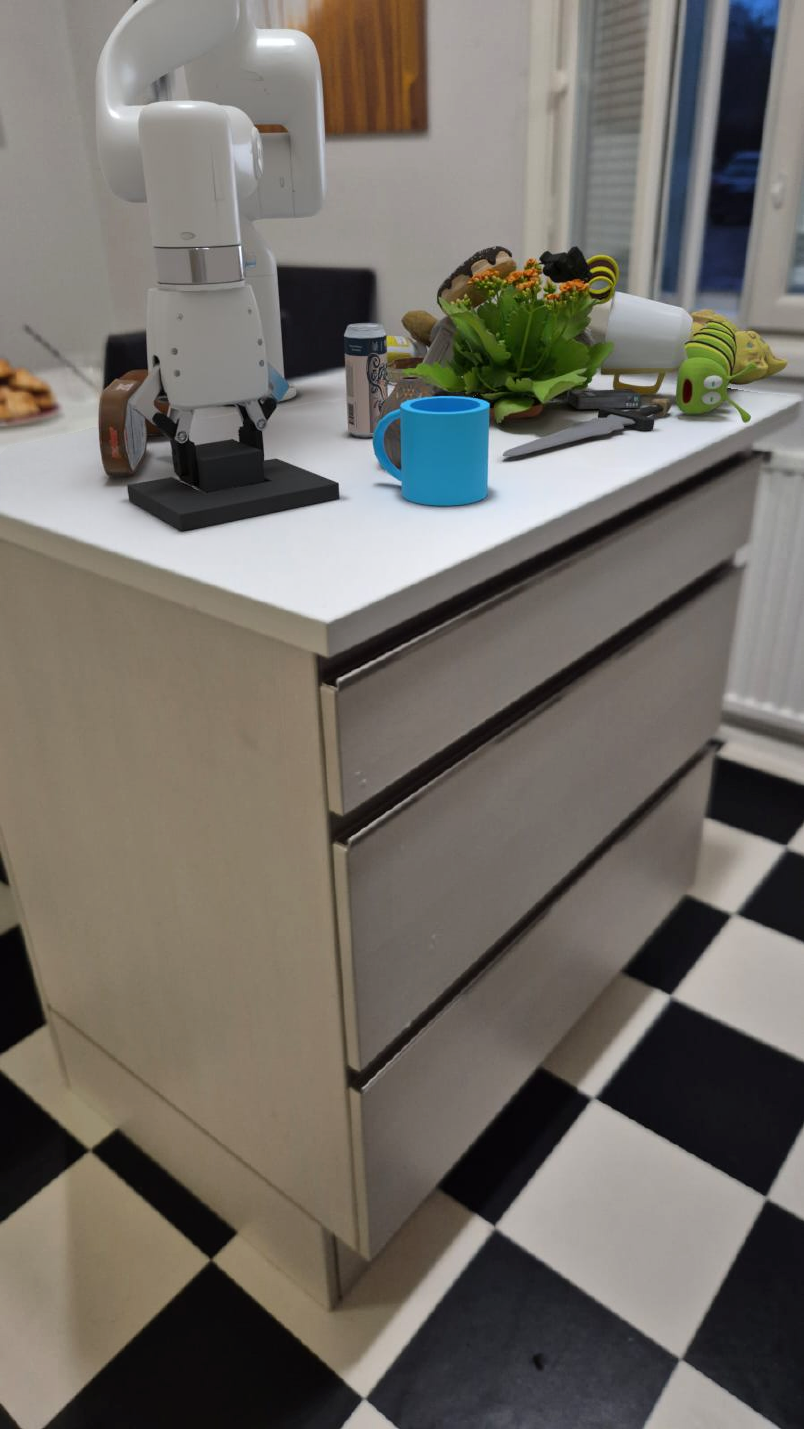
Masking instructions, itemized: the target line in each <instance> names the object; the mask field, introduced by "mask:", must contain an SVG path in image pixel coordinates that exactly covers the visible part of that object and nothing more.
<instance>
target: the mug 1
mask: <svg viewBox="0 0 804 1429" xmlns="http://www.w3.org/2000/svg"><path fill="white" fill-rule="evenodd" d="M489 407H490V403H488V402H486V401H484V400H481V399H477V398H470V397H469V396H458V395H457V396H455V395H439V396H433V397H424V398H417V399H412V400H408V401H405V402H403V403H401V406H400V409H398V410H395V411H393V412H390V413H388V414H387V415H386V416H385V417H384V418H382V419H381V420H380V421H379V423H378V425H377V427H376V429H375V430H374V435H373V437H372V448H373V453H374V456H375V458H376V459H377V461H378V464H379V465H380V466H381V467H382V468H383V470H384V471H385V472H387V474H388V475H390V476H391V477H393V478H394V479H396V480H397V481H399V482H401V496H402V497H403V498H404V499H405V500H406V501H409V502H412V503H416V504H418V505H419V504H420V505H425V506H436V507H437V506H438V507H439V506H440V507H443V506H444V507H445V506H447V507H451V506H461V505H468V504H473V503H476V502H479V501H481V500H484V499H485V498H486V497H488V488H489V487H488V486H489V485H488V484H489V483H488V482H489V447H490V446H489V445H490V444H489V442H490V441H489V440H490V419H489ZM398 418H400V421H401V468H397V467H395V466H394V465H393V463H392V462H391V461H390V460H389V458H388V456H387V454H386V452H385V449H384V444H383V440H384V433H385V431H386V429H387V427H388V425H389V424H390V423H392V422H393V421H394V420H395V419H398Z"/></svg>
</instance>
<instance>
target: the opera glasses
mask: <svg viewBox="0 0 804 1429" xmlns="http://www.w3.org/2000/svg"><path fill="white" fill-rule="evenodd" d="M586 262H587V264H588V265H589V266H590V272H591V273H592V274H593V277H592V278H591V279H588V278H586V280H587V282H588V283H589V284H590V288H589V289H587V291H586V292H587V295H586V296H585V298H584V300H585V299H586V298H587V297H588V296H589V297H590V299H598V300H600V301H601V300H602V299H604V301H602V302H603V303H601V304H599V305H605V304H606V303H608V302H609V301H611V300H612V298H613V294H614V292H615V287H616V286H617V283H618V281H619V277H620V270H619V266H618V263H617V262H616V260H614V258H612V257H611V256H609V255H606V254H597V255H594V256H591V257H590V258H588V259H587V260H586ZM598 281H603V282H606V283H607V284H608V285H607V286H606V287H604V288H602V289H601V288H600V289H594V288H591V287H592V285H593V284H594V283H596V282H598ZM558 293H560V294H562V291H561V290H559V292H558ZM562 300H563V301H564V302H565V304H566V301H567V298H563V299H562ZM565 306H566V305H565ZM590 308H592V310H593V309H594V306H593V307H590ZM590 314H591V312H590V313H589V314H588V315H587V316H586V317H588V316H589V315H590ZM586 317H585V318H586Z"/></svg>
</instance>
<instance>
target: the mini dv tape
mask: <svg viewBox="0 0 804 1429" xmlns="http://www.w3.org/2000/svg"><path fill="white" fill-rule="evenodd" d="M567 403H568V404H569V405H570V406H572V408H574V409H576V410H599V408H600V407H601V406H604V407H609V408H614V409H631V408H634V409H638V408H641V404H642V395H641V394H639V393H637V392H635V391H633V390H631V389H621V390H614V389H593V390H592V389H589V390H588V389H587V390H586V389H585V390H567Z"/></svg>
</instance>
